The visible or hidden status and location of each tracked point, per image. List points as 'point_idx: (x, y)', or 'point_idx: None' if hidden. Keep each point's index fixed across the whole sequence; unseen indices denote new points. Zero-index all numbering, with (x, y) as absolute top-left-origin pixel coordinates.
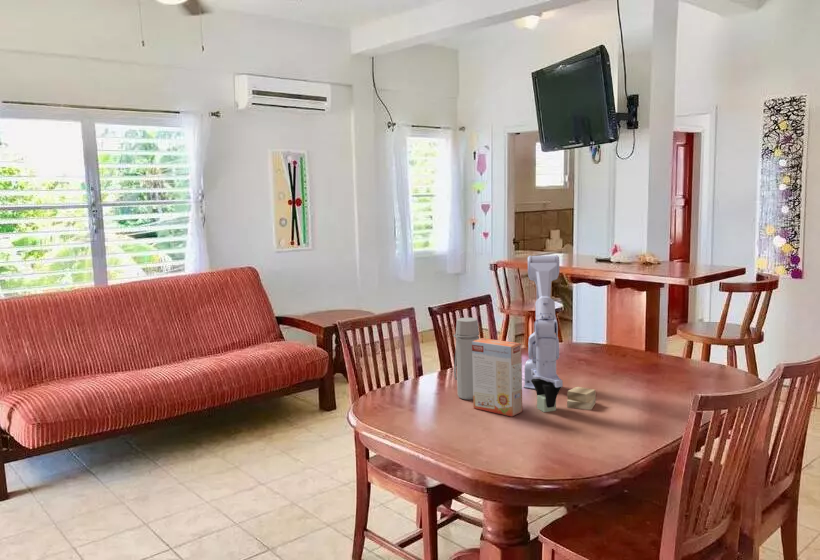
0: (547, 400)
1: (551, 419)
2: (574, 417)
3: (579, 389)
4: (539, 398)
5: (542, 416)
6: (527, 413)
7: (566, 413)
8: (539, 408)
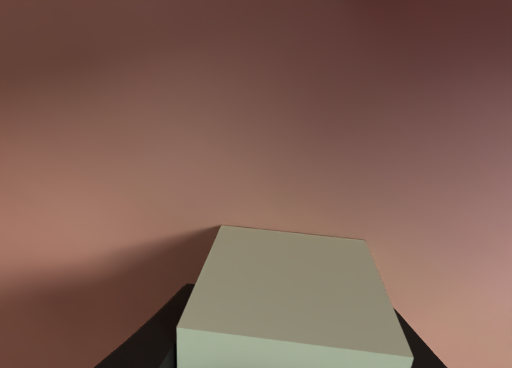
0: (131, 336)
1: (9, 162)
2: (9, 342)
3: None
4: (325, 322)
5: (117, 137)
6: (277, 43)
7: None
8: (315, 240)
